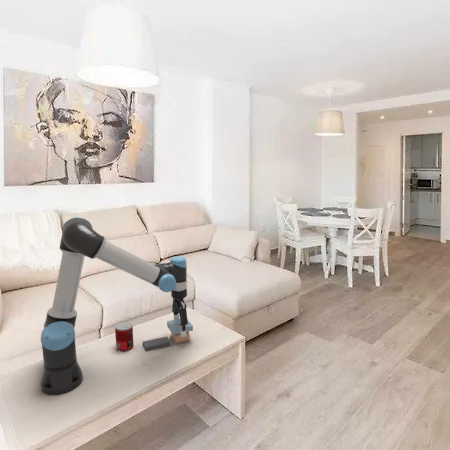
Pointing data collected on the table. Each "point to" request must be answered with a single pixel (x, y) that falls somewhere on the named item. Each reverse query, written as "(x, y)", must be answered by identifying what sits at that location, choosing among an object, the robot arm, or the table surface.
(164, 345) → the block
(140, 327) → the table surface
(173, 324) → the blue square slab
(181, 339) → the open box
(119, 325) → the canned food
